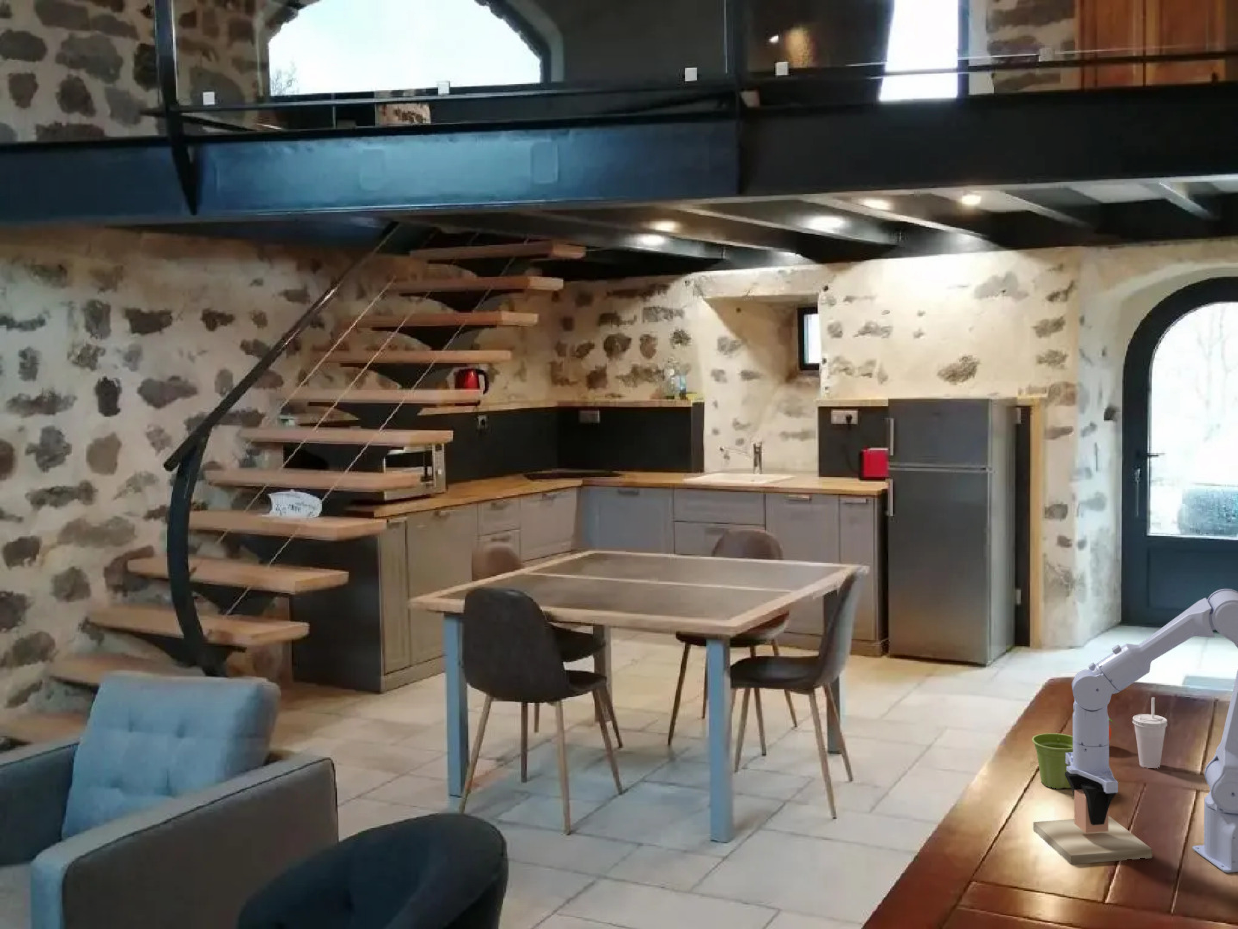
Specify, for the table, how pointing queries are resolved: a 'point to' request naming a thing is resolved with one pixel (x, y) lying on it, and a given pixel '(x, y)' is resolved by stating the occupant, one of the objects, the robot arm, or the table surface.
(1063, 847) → the board
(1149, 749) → the smoothie
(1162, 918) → the table surface
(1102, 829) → the block
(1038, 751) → the plant pot
